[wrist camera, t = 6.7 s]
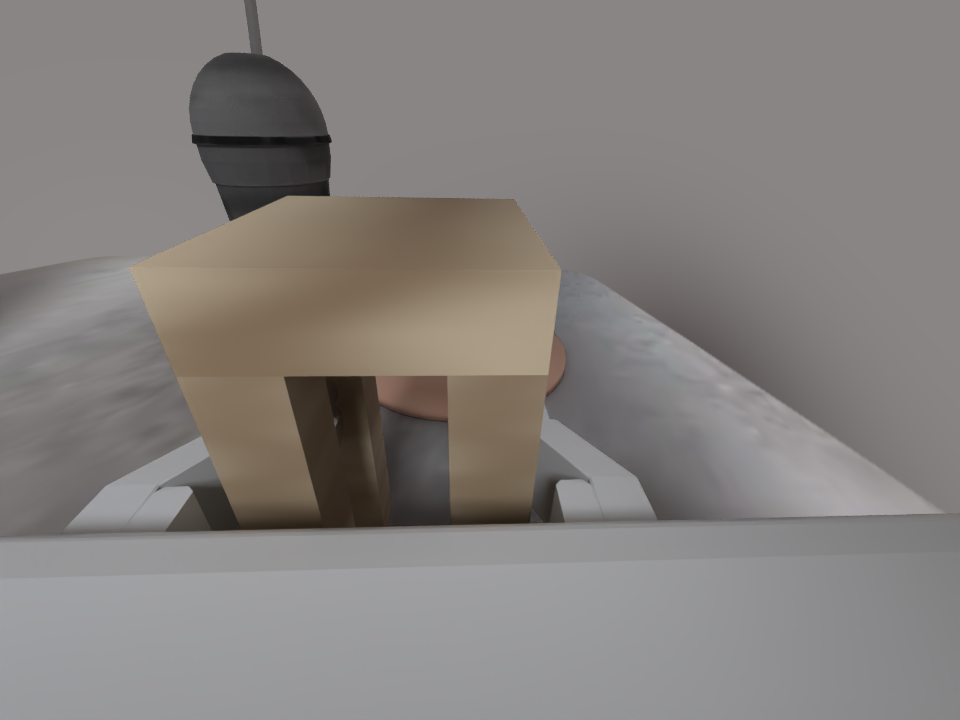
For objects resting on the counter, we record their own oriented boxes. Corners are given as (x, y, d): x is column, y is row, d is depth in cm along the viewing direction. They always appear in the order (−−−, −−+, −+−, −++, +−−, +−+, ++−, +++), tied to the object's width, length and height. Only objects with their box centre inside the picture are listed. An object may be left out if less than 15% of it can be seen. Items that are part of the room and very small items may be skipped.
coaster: (324, 424, 20) (322, 414, 19) (373, 313, 31) (372, 305, 30) (591, 419, 20) (593, 409, 20) (543, 312, 31) (544, 305, 31)
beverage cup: (293, 298, 33) (215, -36, 23) (375, 308, 32) (331, -44, 21) (224, 338, 27) (76, -93, 17) (322, 353, 25) (225, -110, 15)
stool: (303, 675, 10) (129, 267, 5) (351, 504, 14) (287, 195, 9) (510, 666, 10) (561, 270, 5) (495, 501, 14) (514, 199, 9)
